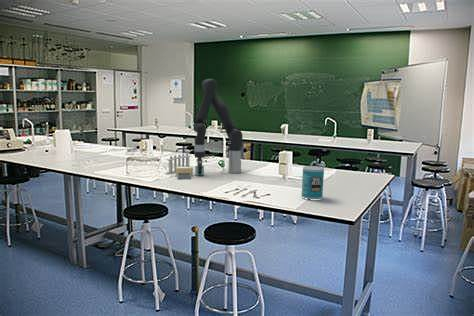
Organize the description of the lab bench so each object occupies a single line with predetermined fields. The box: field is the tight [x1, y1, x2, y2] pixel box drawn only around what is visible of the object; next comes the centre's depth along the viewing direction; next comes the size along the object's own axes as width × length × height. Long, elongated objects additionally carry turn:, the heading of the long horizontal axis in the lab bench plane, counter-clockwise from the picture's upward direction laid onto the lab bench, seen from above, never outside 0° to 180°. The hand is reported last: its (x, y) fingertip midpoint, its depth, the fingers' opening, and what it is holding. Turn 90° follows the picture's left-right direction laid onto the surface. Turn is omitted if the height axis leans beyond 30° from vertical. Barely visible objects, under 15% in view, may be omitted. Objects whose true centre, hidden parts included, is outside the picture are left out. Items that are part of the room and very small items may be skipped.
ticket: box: [175, 166, 194, 177], centre depth 270 cm, size 12×5×6 cm, turn 99°
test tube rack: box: [165, 152, 192, 175], centre depth 283 cm, size 25×4×13 cm, turn 147°
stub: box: [194, 165, 205, 176], centre depth 271 cm, size 6×5×6 cm
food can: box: [301, 165, 325, 200], centre depth 216 cm, size 12×12×18 cm
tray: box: [177, 173, 192, 180], centre depth 263 cm, size 9×9×2 cm
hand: (199, 173), depth 272 cm, fingers closed on stub, 5 cm apart
